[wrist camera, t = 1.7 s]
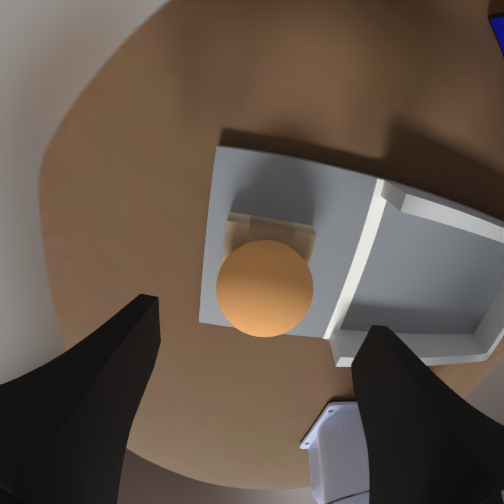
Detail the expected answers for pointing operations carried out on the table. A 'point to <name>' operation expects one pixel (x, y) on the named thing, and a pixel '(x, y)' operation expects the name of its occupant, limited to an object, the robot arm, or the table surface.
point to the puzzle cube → (498, 27)
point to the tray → (369, 255)
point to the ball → (264, 288)
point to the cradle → (267, 234)
